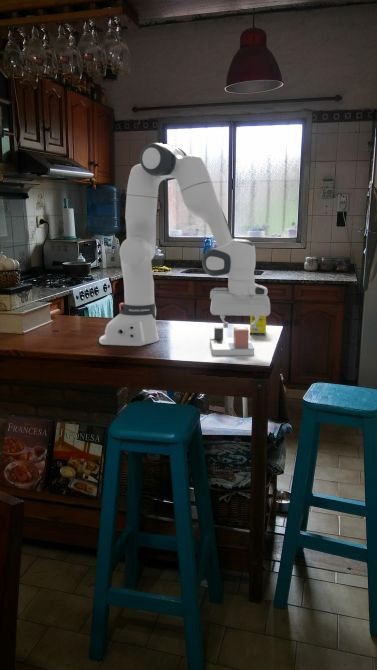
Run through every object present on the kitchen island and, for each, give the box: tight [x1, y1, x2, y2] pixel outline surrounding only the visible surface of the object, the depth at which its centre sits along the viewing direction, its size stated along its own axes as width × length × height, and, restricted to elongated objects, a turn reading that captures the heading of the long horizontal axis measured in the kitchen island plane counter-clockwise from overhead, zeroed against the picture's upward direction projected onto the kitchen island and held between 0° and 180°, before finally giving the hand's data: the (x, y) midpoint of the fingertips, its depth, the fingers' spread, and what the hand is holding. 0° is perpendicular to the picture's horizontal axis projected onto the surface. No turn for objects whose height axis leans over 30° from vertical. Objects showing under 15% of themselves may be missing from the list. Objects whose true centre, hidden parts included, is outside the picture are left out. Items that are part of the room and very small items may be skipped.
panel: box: [209, 337, 255, 356], centre depth 190 cm, size 14×17×2 cm
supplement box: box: [249, 316, 267, 336], centre depth 213 cm, size 6×6×11 cm
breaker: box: [213, 326, 224, 340], centre depth 195 cm, size 3×2×4 cm
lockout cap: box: [233, 326, 250, 348], centre depth 185 cm, size 4×4×6 cm
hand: (239, 328), depth 184 cm, fingers open, 8 cm apart
